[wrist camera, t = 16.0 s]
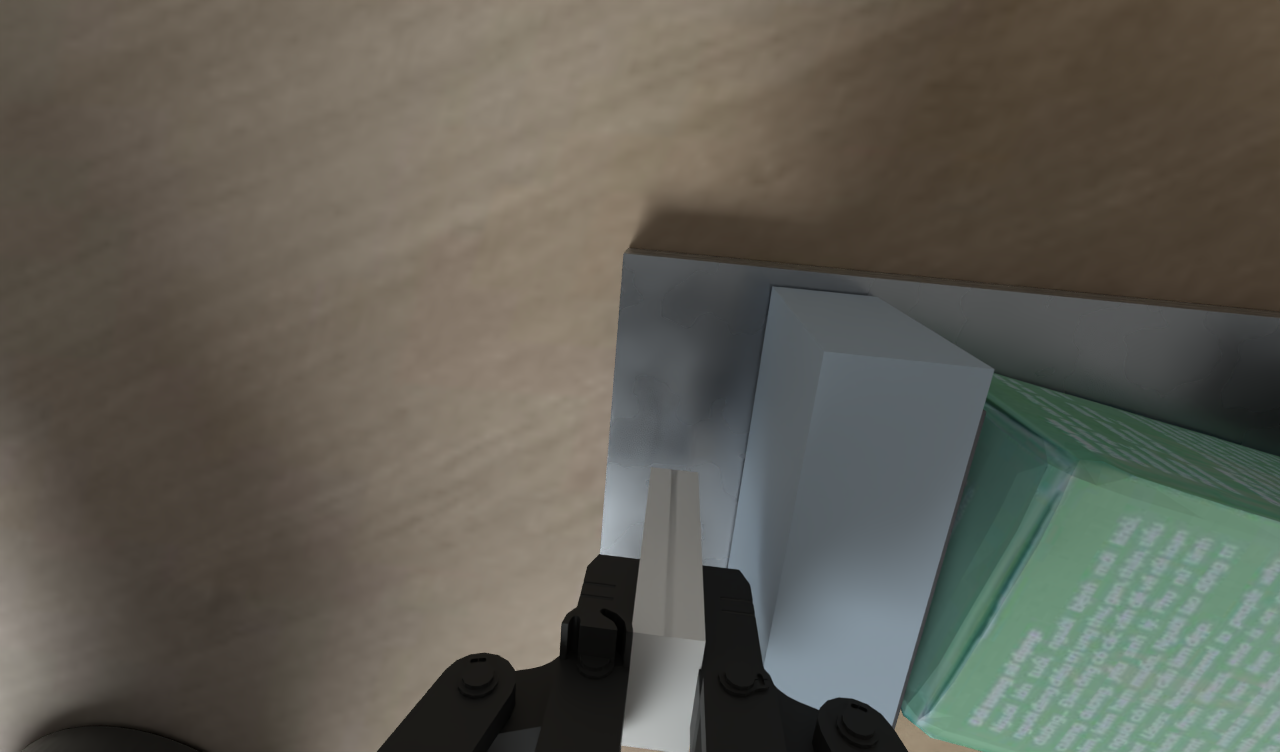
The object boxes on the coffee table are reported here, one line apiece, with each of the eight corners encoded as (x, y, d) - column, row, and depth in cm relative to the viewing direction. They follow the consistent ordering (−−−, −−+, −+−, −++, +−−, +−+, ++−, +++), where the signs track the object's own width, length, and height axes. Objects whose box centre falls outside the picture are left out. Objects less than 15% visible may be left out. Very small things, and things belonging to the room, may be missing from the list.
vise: (599, 610, 23) (552, 836, 15) (628, 247, 19) (584, 296, 11) (1293, 698, 22) (1635, 991, 14) (1494, 333, 18) (2153, 457, 10)
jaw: (715, 647, 22) (727, 855, 15) (772, 286, 17) (823, 351, 11) (810, 659, 21) (866, 874, 15) (891, 298, 17) (1017, 371, 11)
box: (919, 346, 18) (1072, 460, 11) (1349, 470, 18) (1777, 662, 11) (828, 548, 20) (903, 750, 13) (1209, 656, 20) (1484, 911, 13)
